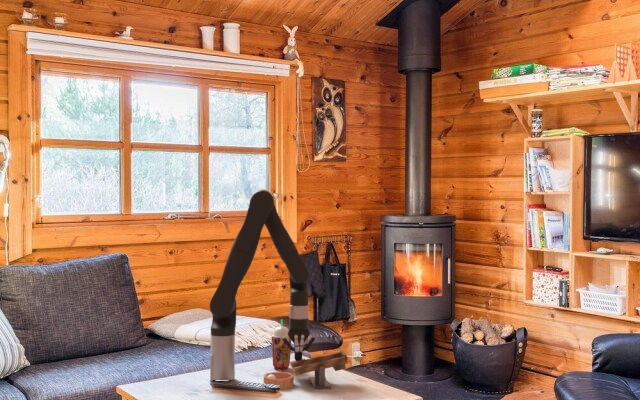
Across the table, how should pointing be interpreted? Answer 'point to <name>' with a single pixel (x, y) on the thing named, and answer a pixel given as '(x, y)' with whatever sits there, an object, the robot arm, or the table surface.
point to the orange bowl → (280, 379)
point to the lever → (320, 363)
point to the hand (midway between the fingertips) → (298, 361)
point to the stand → (320, 379)
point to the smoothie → (280, 348)
